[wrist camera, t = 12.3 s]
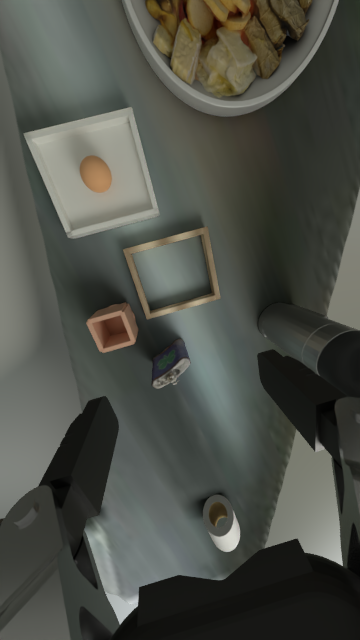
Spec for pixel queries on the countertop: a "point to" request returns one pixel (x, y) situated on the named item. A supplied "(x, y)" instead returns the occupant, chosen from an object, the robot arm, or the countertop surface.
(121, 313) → the cup
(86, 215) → the tray
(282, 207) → the countertop surface
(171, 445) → the countertop surface
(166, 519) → the countertop surface
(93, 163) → the ball
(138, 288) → the corral
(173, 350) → the flask
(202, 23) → the bowl
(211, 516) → the toilet paper
